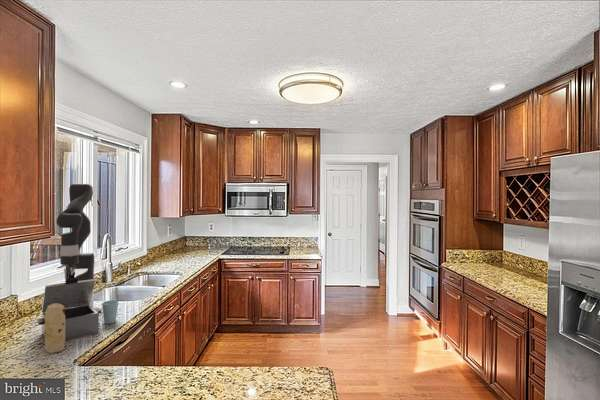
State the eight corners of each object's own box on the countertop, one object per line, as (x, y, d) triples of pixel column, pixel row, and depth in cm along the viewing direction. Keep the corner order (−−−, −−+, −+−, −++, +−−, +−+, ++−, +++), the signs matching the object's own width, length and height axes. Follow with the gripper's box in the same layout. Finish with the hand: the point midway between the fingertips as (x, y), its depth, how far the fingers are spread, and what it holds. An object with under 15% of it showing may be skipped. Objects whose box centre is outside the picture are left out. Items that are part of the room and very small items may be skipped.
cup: (118, 318, 193) (118, 299, 193) (118, 322, 187) (118, 303, 186) (102, 320, 189) (102, 301, 189) (102, 325, 183) (102, 305, 183)
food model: (69, 349, 153) (70, 303, 153) (53, 355, 147) (54, 308, 147) (55, 345, 157) (56, 301, 157) (39, 351, 151) (39, 305, 151)
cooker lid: (41, 312, 171) (41, 309, 172) (89, 304, 185) (88, 300, 186) (46, 282, 162) (45, 278, 163) (96, 276, 176) (95, 272, 177)
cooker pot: (35, 334, 169) (35, 314, 169) (95, 322, 187) (95, 303, 186) (40, 346, 156) (41, 324, 156) (104, 331, 173) (104, 311, 173)
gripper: (57, 253, 175) (57, 287, 176) (63, 256, 166) (62, 293, 166) (75, 251, 180) (75, 285, 181) (81, 255, 171) (81, 290, 171)
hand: (69, 289), depth 173 cm, fingers closed
